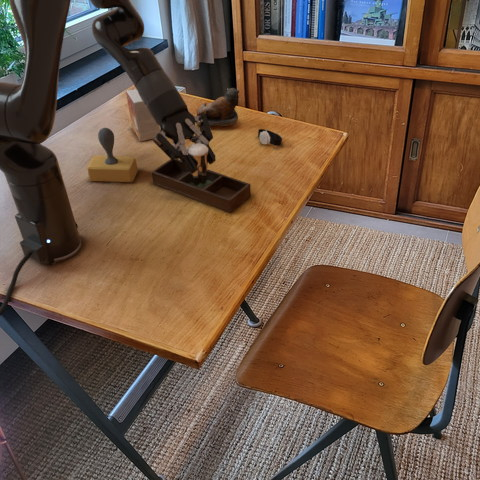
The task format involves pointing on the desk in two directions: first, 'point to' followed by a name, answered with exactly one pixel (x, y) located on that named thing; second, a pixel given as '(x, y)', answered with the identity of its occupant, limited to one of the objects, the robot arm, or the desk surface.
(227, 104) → the brown animal figure
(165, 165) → the tray
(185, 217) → the desk surface
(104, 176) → the rubber stamp
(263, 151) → the desk surface
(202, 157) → the milkshake
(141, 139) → the small box
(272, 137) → the watch
